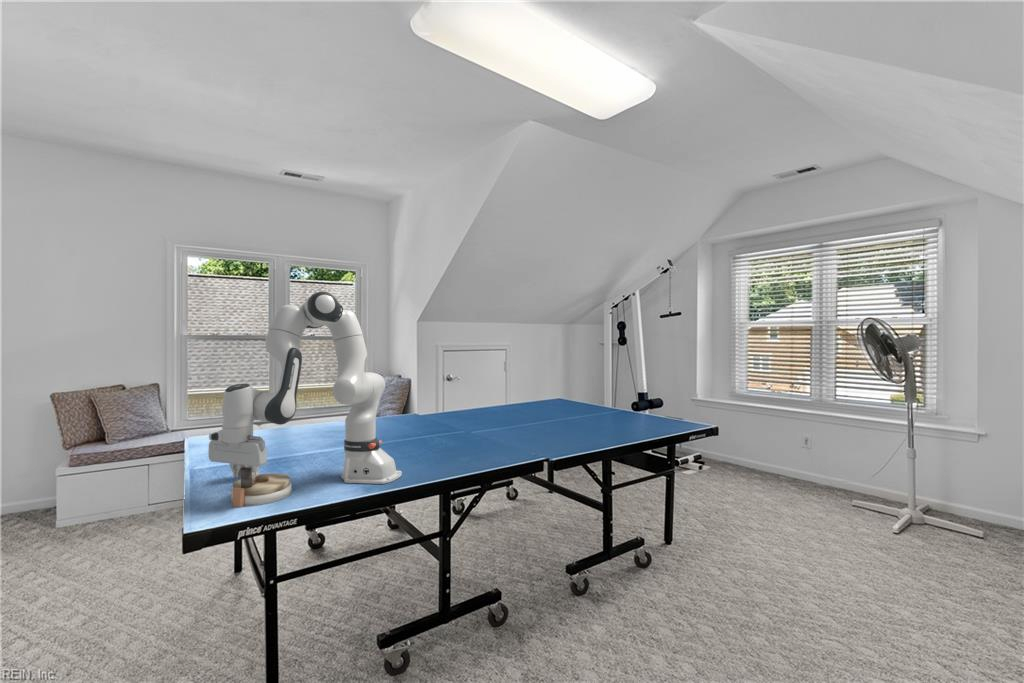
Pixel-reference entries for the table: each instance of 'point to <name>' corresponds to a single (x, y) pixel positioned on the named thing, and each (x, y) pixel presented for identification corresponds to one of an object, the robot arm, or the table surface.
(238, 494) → the stand
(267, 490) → the tan disc with handle
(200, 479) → the table surface
